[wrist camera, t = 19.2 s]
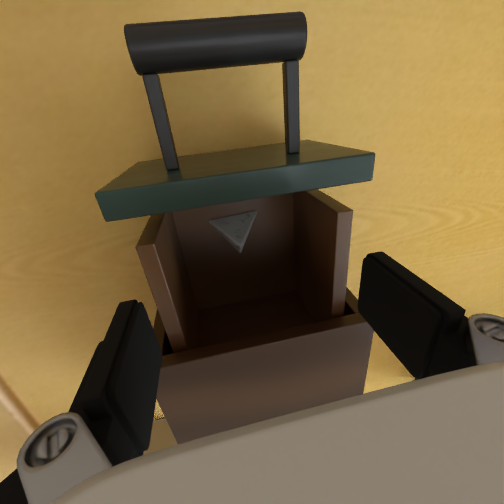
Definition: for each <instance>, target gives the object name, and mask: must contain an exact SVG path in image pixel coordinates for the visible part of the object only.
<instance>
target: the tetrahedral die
mask: <svg viewBox="0 0 504 504" xmlns="http://www.w3.org/2000/svg"><path fill="white" fill-rule="evenodd" d="M256 214H257V211H253V212H248V213H243V214H238V215H233V216H229V217H224V218H219V219H214V220H209V223H210V224H211V225H212V226H213V227H214V228H215V229H216V230H217V231H218V232H219V233H220V234H221V235H222V236H223V237H224V238H225V239H226V240H227V241H228V242H229V243H230V244H231V245H232V246H233V247H234V248H235V249H236V250H237V251H238V252H239V253H241V252H242V249H243V247H244V244H245V242H246V239H247V237H248V234H249V232H250V229H251V227H252V224H253V222H254V219H255V217H256Z"/></svg>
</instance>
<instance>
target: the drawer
mask: <svg viewBox="0 0 504 504" xmlns="http://www.w3.org/2000/svg"><path fill="white" fill-rule="evenodd" d="M124 34H125V39H126V44H127V48H128V51H129V55H130V58H131V61H132V63H133V66H134V68H135V70H136V72H137V74H138V75H140V76H143V80H144V84H145V88H146V92H147V96H148V100H149V104H150V108H151V112H152V116H153V120H154V124H155V128H156V132H157V135H158V139H159V143H160V147H161V151H162V155H163V159H158V160H151V161H143V162H137V163H136V164H135V165H133V166H132V167H130V168H129V169H128V170H126V171H125V172H123V173H122V174H121V175H119V176H118V177H116V178H115V179H114V180H112V181H111V182H109V183H108V184H107V185H105V186H104V187H102V188H101V189H100V190H98V191H97V192H95V197H96V199H97V202H98V204H99V207H100V209H101V212H102V214H103V217H104V219H105V221H106V222H110V221H116V220H123V219H129V218H136V217H142V216H148V215H151V216H150V219H149V221H148V223H147V225H146V227H145V229H144V231H143V233H142V235H141V237H140V239H139V241H138V243H137V245H136V250H137V253H138V255H139V258H140V261H141V264H142V266H143V269H144V272H145V275H146V278H147V280H148V283H149V286H150V289H151V291H152V294H153V297H154V300H155V303H156V305H157V308H158V311H159V314H160V317H161V319H162V322H163V325H164V328H165V330H166V333H167V336H168V339H169V342H170V344H171V347H172V350H173V353H177V352H182V351H187V350H191V349H196V348H200V347H205V346H209V345H214V344H219V343H223V342H228V341H232V340H237V339H241V338H246V337H251V336H255V335H260V334H264V333H269V332H273V331H278V330H282V329H287V328H292V327H296V326H301V325H305V324H310V323H314V322H319V321H324V320H328V319H333V318H337V317H342V316H344V306H345V295H346V284H347V272H348V261H349V250H350V239H351V227H352V216H353V210H352V209H350V208H348V207H347V206H345V205H343V204H342V203H340V202H338V201H336V200H335V199H333V198H331V197H330V196H328V195H326V194H325V193H323V192H321V191H319V190H318V189H321V188H327V187H334V186H340V185H347V184H353V183H359V182H366V181H371V180H372V178H373V170H374V162H375V153H374V152H369V151H363V150H358V149H353V148H347V147H342V146H337V145H332V144H326V143H321V142H316V141H311V140H301V141H300V130H299V60H301V59H302V57H303V55H304V52H305V48H306V42H307V22H306V17H305V15H304V13H303V12H288V13H274V14H261V15H247V16H233V17H219V18H205V19H192V20H178V21H164V22H150V23H136V24H126V25H124ZM279 62H284V63H283V64H282V70H283V96H284V123H285V143H279V144H271V145H264V146H256V147H249V148H241V149H233V150H226V151H218V152H211V153H203V154H196V155H188V156H181V157H177V153H176V148H175V144H174V140H173V135H172V131H171V127H170V122H169V118H168V113H167V109H166V105H165V100H164V96H163V92H162V87H161V83H160V78H159V76H158V75H157V74H164V73H174V72H185V71H195V70H206V69H216V68H227V67H237V66H248V65H258V64H269V63H279ZM253 211H257V214H256V217H255V219H254V222H253V224H252V227H251V229H250V232H249V234H248V237H247V239H246V242H245V244H244V247H243V249H242V252H241V253H239V252H238V251H237V250H236V249H235V248H234V247H233V246H232V245H231V244H230V243H229V242H228V241H227V240H226V239H225V238H224V237H223V236H222V235H221V234H220V233H219V232H218V231H217V230H216V229H215V228H214V227H213V226H212V225H211V224H210V223H209V220H214V219H219V218H224V217H229V216H233V215H238V214H243V213H248V212H253Z"/></svg>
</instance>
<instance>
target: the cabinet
mask: <svg viewBox="0 0 504 504" xmlns="http://www.w3.org/2000/svg"><path fill="white" fill-rule="evenodd" d="M153 330H154V333H155V335H156V338H157V341H158V343H159V346H160V348H161V352H162V361H161V368H160V375H159V382H158V389H157V396H156V399H157V401H158V403H159V405H160V407H161V409H162V412H163V414H164V416H165V418H166V420H167V422H168V425H169V427H170V429H171V431H172V433H173V435H174V437H175V440H176V442H177V444H182V443H185V442H189V441H192V440H195V439H199V438H202V437H206V436H209V435H213V434H217V433H220V432H224V431H228V430H231V429H235V428H239V427H242V426H246V425H250V424H253V423H257V422H261V421H264V420H268V419H272V418H275V417H279V416H283V415H286V414H290V413H294V412H298V411H301V410H305V409H309V408H313V407H316V406H320V405H324V404H327V403H331V402H335V401H339V400H342V399H346V398H350V397H354V396H358V395H361V394H363V391H364V385H365V379H366V374H367V368H368V362H369V356H370V350H371V344H372V338H373V332H374V330H373V329H372V327H371V326H370V325H369V324H368V323H367V322H366V320H365V319H364V318H363V317H362V316H361V314H360V313H359V311H358V299H357V298H356V297H355V296H354V295H353V294H352V293H351V291H350V290H349V289H348V288H347V287H346V295H345V306H344V316H342V317H337V318H333V319H328V320H324V321H319V322H314V323H310V324H305V325H301V326H296V327H292V328H287V329H282V330H278V331H273V332H269V333H264V334H260V335H255V336H251V337H246V338H241V339H237V340H232V341H228V342H223V343H219V344H214V345H209V346H205V347H200V348H196V349H191V350H187V351H182V352H177V353H173V350H172V347H171V344H170V342H169V339H168V336H167V333H166V330H165V328H164V325H163V322H162V319H161V317H160V314H159V311H158V308H157V313H156V318H155V322H154V327H153Z"/></svg>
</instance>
